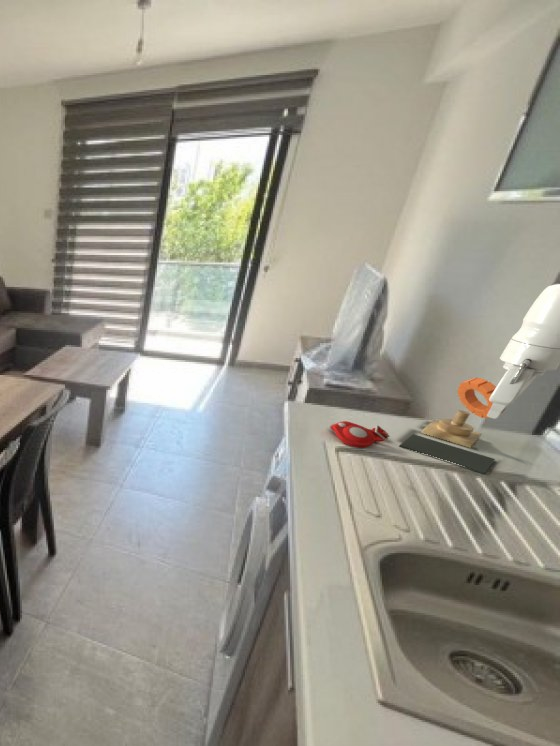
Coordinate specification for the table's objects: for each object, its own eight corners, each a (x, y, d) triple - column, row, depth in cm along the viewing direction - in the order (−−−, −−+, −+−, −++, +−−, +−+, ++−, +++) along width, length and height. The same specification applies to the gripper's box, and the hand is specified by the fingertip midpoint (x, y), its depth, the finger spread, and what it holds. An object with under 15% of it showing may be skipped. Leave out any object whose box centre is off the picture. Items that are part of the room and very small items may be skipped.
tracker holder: (362, 447, 117) (326, 422, 124) (352, 459, 120) (318, 434, 127) (398, 432, 120) (361, 408, 126) (388, 444, 123) (353, 420, 129)
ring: (486, 425, 114) (495, 421, 113) (502, 403, 106) (512, 399, 106) (452, 396, 119) (461, 392, 119) (465, 374, 112) (475, 370, 111)
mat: (494, 460, 117) (495, 458, 117) (484, 474, 110) (485, 472, 110) (412, 435, 128) (413, 433, 128) (398, 446, 121) (399, 445, 121)
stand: (478, 438, 128) (493, 414, 125) (470, 448, 123) (486, 423, 119) (431, 424, 135) (444, 401, 132) (421, 433, 129) (434, 409, 126)
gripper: (546, 368, 96) (505, 429, 103) (558, 353, 107) (520, 410, 114) (502, 359, 101) (466, 419, 107) (519, 346, 112) (484, 401, 118)
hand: (494, 414), depth 111 cm, fingers closed on ring, 5 cm apart
